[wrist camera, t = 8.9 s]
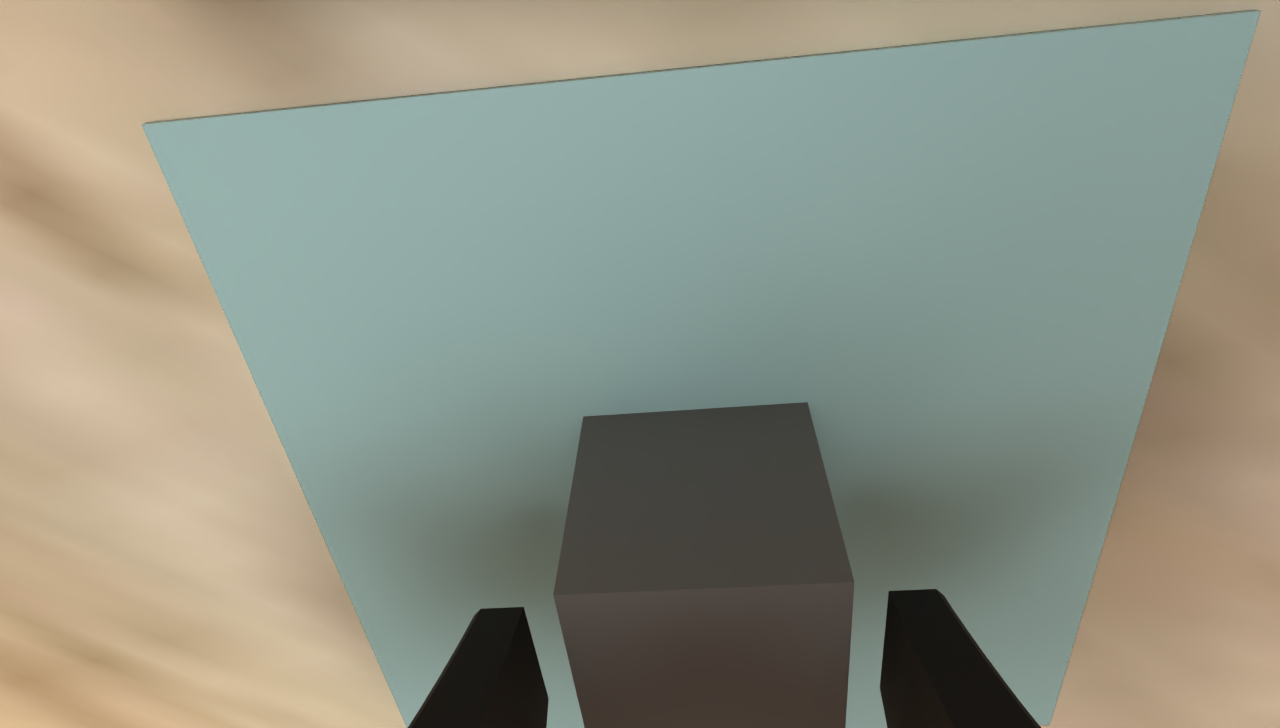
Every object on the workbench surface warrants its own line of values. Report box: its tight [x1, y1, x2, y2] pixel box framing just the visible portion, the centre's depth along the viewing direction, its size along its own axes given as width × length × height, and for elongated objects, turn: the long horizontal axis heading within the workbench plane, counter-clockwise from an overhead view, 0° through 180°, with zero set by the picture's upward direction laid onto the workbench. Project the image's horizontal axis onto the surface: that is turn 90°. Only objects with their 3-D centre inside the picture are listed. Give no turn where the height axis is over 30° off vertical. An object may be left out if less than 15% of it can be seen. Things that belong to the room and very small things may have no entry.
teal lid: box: [142, 10, 1260, 728], centre depth 12 cm, size 14×14×4 cm
